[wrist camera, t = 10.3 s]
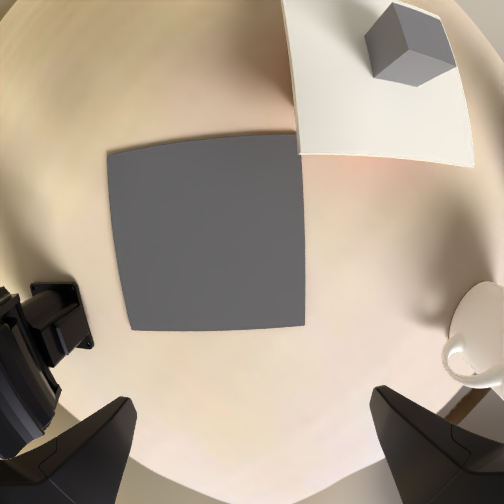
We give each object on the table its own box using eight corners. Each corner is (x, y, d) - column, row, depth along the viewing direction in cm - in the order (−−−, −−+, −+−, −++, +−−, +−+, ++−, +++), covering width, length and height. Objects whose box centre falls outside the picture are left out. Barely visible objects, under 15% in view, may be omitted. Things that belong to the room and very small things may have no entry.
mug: (422, 305, 21) (497, 367, 10) (498, 268, 20) (566, 301, 10) (418, 374, 22) (467, 440, 12) (490, 333, 22) (543, 375, 11)
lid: (298, 154, 13) (321, 137, 8) (277, -14, 10) (285, -61, 6) (467, 167, 13) (518, 167, 8) (434, 20, 10) (467, -5, 6)
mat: (133, 327, 21) (131, 330, 20) (109, 155, 18) (107, 155, 17) (303, 323, 21) (304, 325, 20) (298, 135, 18) (299, 134, 17)
